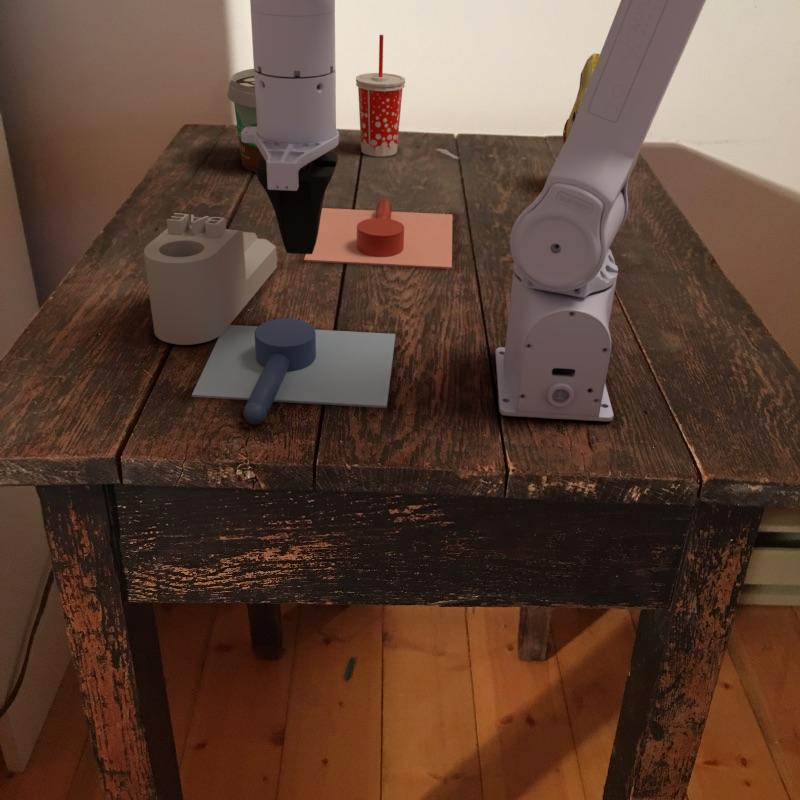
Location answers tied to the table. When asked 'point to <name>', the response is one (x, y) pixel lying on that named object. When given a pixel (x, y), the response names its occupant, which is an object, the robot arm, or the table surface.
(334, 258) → the rose mat
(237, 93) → the food container
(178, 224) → the grey lettered holder
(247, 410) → the blue spoon
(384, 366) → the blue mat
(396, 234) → the red spoon
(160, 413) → the table surface
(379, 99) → the beverage cup
